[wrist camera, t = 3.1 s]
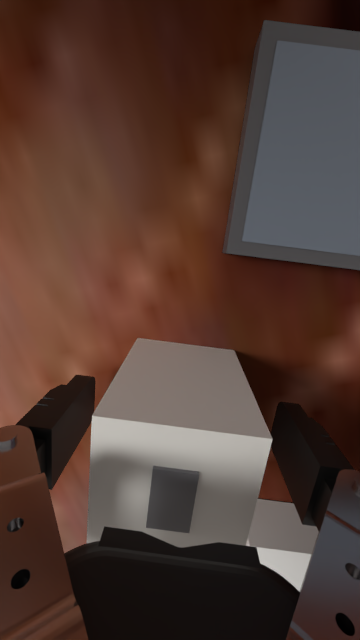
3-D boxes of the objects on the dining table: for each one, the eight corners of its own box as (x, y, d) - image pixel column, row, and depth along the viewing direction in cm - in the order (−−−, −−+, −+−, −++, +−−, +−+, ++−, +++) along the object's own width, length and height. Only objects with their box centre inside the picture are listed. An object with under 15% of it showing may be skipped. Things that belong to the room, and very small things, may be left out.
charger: (130, 420, 14) (85, 553, 8) (137, 337, 12) (90, 418, 7) (218, 432, 14) (240, 573, 8) (234, 350, 12) (273, 442, 7)
